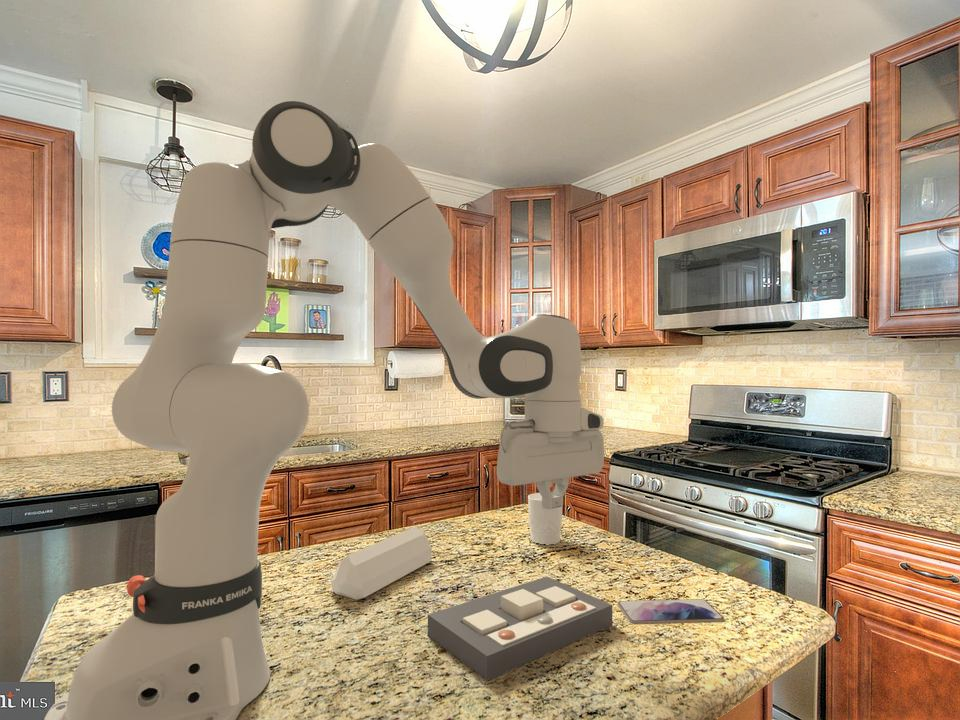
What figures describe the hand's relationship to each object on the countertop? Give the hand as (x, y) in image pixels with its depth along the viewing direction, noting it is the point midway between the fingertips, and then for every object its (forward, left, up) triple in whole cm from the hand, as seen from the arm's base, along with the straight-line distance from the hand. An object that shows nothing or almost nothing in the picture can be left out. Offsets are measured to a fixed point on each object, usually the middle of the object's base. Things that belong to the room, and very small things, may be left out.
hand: (552, 507), depth 82 cm
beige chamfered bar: (-13, +31, -18) cm, 38 cm away
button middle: (-6, 0, -15) cm, 17 cm away
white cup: (+26, +28, -17) cm, 42 cm away
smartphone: (+16, -10, -18) cm, 26 cm away
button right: (+1, 0, -17) cm, 17 cm away
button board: (-6, 0, -17) cm, 18 cm away
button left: (-13, 0, -16) cm, 21 cm away
